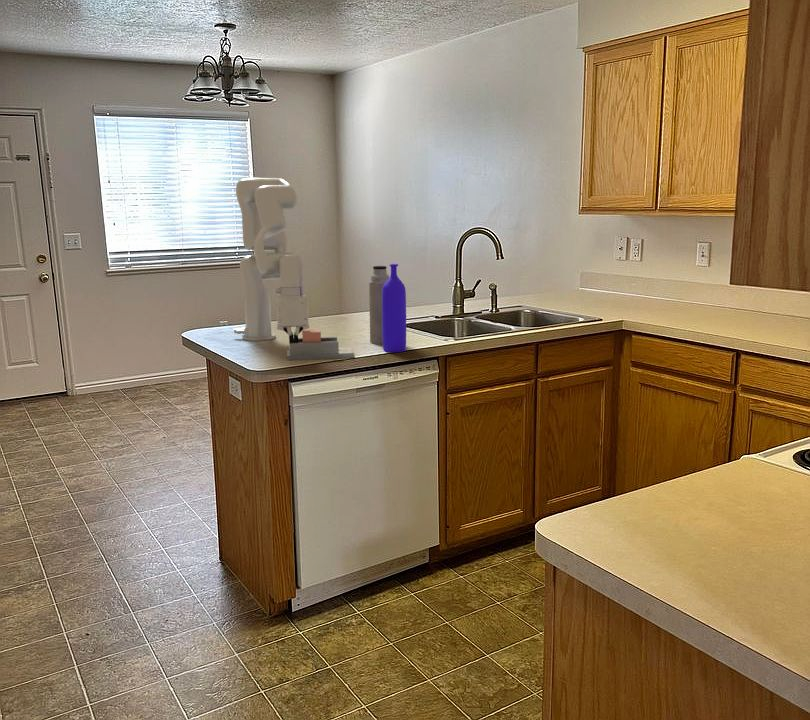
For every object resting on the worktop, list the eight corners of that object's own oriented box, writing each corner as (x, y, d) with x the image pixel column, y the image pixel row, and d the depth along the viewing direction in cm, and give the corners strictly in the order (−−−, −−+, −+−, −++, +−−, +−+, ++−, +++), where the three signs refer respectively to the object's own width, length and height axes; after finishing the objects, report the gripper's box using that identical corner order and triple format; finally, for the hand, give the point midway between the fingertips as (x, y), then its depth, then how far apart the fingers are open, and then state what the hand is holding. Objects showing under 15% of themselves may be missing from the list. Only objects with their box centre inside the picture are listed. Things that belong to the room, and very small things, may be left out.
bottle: (377, 350, 260) (376, 264, 254) (394, 347, 266) (394, 262, 259) (394, 353, 254) (393, 265, 248) (411, 350, 260) (410, 264, 253)
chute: (287, 360, 245) (286, 343, 244) (287, 354, 255) (286, 338, 254) (353, 357, 248) (353, 341, 247) (351, 351, 258) (351, 336, 257)
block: (303, 353, 248) (302, 332, 246) (303, 350, 253) (302, 329, 252) (321, 352, 248) (320, 332, 247) (320, 349, 254) (320, 329, 252)
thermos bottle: (377, 339, 280) (376, 264, 274) (395, 341, 276) (394, 265, 270) (365, 342, 274) (364, 266, 268) (384, 344, 270) (383, 267, 264)
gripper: (268, 293, 241) (270, 349, 245) (314, 292, 243) (316, 347, 247) (269, 291, 248) (271, 345, 252) (314, 290, 250) (316, 343, 254)
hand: (294, 346), depth 249 cm, fingers closed
